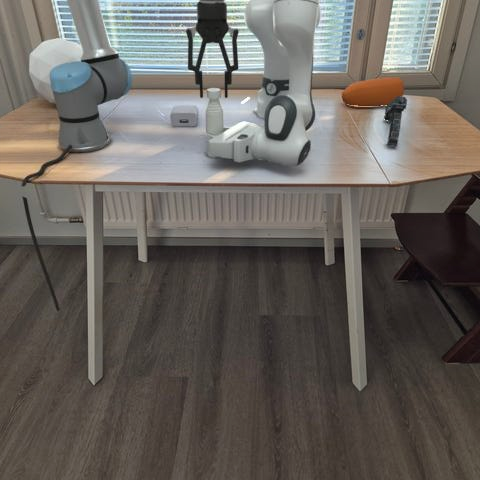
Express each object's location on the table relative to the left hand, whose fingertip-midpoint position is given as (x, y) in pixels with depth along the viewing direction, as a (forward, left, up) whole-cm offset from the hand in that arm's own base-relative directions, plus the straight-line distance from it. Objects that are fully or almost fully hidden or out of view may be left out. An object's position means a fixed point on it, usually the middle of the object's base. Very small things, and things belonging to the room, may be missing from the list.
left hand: (213, 96), depth 114 cm
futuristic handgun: (+47, -42, -17) cm, 65 cm away
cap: (0, 0, +1) cm, 1 cm away
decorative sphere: (+12, +78, -17) cm, 80 cm away
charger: (+21, +27, -17) cm, 38 cm away
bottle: (0, 0, -17) cm, 17 cm away
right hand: (0, +1, -11) cm, 11 cm away
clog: (+76, -26, -17) cm, 82 cm away
